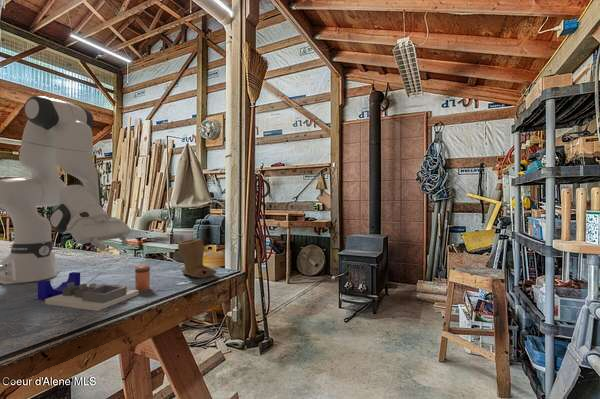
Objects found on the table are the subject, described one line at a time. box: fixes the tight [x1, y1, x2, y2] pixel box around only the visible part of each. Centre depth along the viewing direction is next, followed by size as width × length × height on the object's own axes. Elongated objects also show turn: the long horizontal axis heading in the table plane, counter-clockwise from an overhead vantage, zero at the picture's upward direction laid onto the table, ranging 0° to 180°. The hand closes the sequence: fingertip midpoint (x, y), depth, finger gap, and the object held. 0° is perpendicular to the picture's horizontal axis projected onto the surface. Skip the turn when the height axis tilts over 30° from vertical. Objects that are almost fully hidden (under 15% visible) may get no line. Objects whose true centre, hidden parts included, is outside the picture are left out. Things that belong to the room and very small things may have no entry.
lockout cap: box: [134, 264, 151, 292], centre depth 107 cm, size 5×5×8 cm
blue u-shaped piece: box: [37, 271, 81, 302], centre depth 102 cm, size 12×4×6 cm, turn 168°
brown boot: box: [177, 238, 217, 279], centre depth 127 cm, size 15×12×15 cm
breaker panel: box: [44, 282, 139, 312], centre depth 97 cm, size 20×15×5 cm
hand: (115, 247), depth 110 cm, fingers open, 8 cm apart
